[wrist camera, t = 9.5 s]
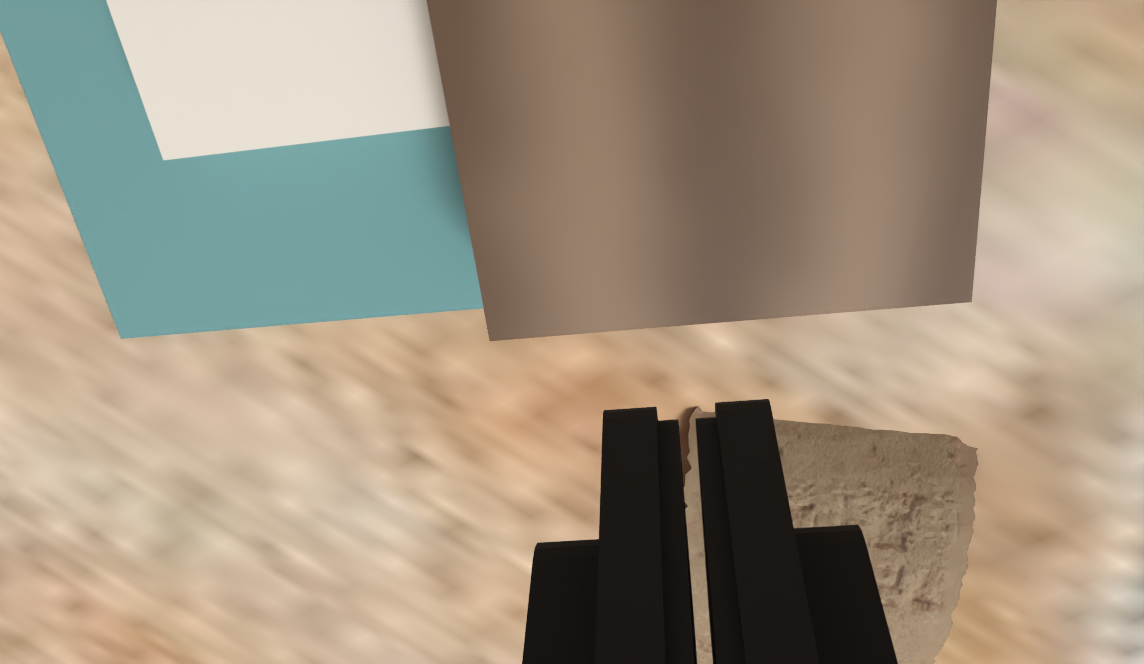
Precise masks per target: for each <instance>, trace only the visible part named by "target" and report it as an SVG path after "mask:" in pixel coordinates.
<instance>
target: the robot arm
mask: <svg viewBox="0 0 1144 664" xmlns="http://www.w3.org/2000/svg"><path fill="white" fill-rule="evenodd" d="M715 416H716V417H708V418H695V423H696V437H697V452H698V466H699V480H700V494H701V509H702V523H703V537H704V551H705V566H706V580H707V594H708V608H709V622H710V634H711V646H712V658H713V664H898V662H897V658H896V654H895V650H894V647H893V643H892V639H891V635H890V632H889V628H888V624H887V620H886V617H885V613H884V609H883V605H882V602H881V598H880V594H879V590H878V587H877V583H876V579H875V575H874V572H873V568H872V564H871V560H870V557H869V553H868V549H867V545H866V542H865V539H864V536H863V533H862V530H861V528H860V527H859V525H841V526H824V527H806V528H794V527H793V521H792V516H791V511H790V506H789V500H788V495H787V490H786V484H785V479H784V474H783V469H782V463H781V458H780V453H779V447H778V442H777V437H776V432H775V426H774V421H773V416H772V410H771V406H770V401H769V399H763V400H748V401H734V402H719V403H715ZM522 664H697V652H696V637H695V624H694V611H693V598H692V585H691V573H690V561H689V548H688V536H687V523H686V511H685V498H684V486H683V473H682V461H681V448H680V436H679V424H678V420H663V421H658V417H657V409H656V407H646V408H631V409H617V410H604V412H603V431H602V462H601V494H600V526H599V539H596V540H579V541H561V542H544V543H537V545H536V547H535V550H534V557H533V564H532V574H531V583H530V593H529V603H528V612H527V622H526V632H525V642H524V651H523V661H522Z"/></svg>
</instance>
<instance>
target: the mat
mask: <svg viewBox="0 0 1144 664" xmlns="http://www.w3.org/2000/svg"><path fill="white" fill-rule="evenodd" d="M0 32H1V34H2V37H3V39H4V42H5V45H6V47H7V50H8V52H9V55H10V57H11V60H12V62H13V65H14V67H15V70H16V73H17V75H18V78H19V80H20V83H21V85H22V88H23V90H24V93H25V95H26V98H27V100H28V103H29V106H30V108H31V111H32V113H33V116H34V118H35V121H36V123H37V126H38V128H39V131H40V134H41V136H42V139H43V141H44V144H45V146H46V149H47V151H48V154H49V156H50V159H51V162H52V164H53V167H54V169H55V172H56V174H57V177H58V179H59V182H60V184H61V187H62V190H63V192H64V195H65V197H66V200H67V202H68V205H69V207H70V210H71V212H72V215H73V218H74V220H75V223H76V225H77V228H78V230H79V233H80V235H81V238H82V240H83V243H84V246H85V248H86V251H87V253H88V256H89V258H90V261H91V263H92V266H93V268H94V271H95V274H96V276H97V279H98V281H99V284H100V286H101V289H102V291H103V294H104V296H105V299H106V302H107V304H108V307H109V309H110V312H111V314H112V317H113V319H114V322H115V324H116V327H117V330H118V332H119V335H120V337H121V339H123V338H135V337H147V336H158V335H170V334H182V333H194V332H206V331H218V330H230V329H242V328H254V327H265V326H277V325H289V324H301V323H313V322H325V321H337V320H349V319H361V318H372V317H384V316H396V315H408V314H420V313H432V312H444V311H456V310H468V309H479V308H484V307H483V302H482V297H481V291H480V286H479V280H478V275H477V270H476V264H475V259H474V253H473V248H472V243H471V237H470V232H469V227H468V221H467V216H466V210H465V205H464V200H463V194H462V189H461V183H460V178H459V173H458V167H457V162H456V157H455V151H454V146H453V140H452V135H451V130H450V126H444V127H436V128H427V129H419V130H411V131H403V132H394V133H386V134H378V135H370V136H361V137H353V138H345V139H336V140H328V141H320V142H312V143H303V144H295V145H287V146H279V147H270V148H262V149H254V150H246V151H237V152H229V153H221V154H212V155H204V156H196V157H188V158H179V159H171V160H163V158H162V155H161V152H160V150H159V147H158V144H157V141H156V138H155V136H154V133H153V130H152V127H151V124H150V122H149V119H148V116H147V113H146V110H145V108H144V105H143V102H142V99H141V96H140V94H139V91H138V88H137V85H136V83H135V80H134V77H133V74H132V71H131V69H130V66H129V63H128V60H127V57H126V55H125V52H124V49H123V46H122V43H121V41H120V38H119V35H118V32H117V30H116V27H115V24H114V21H113V18H112V16H111V13H110V10H109V7H108V4H107V2H106V0H0Z"/></svg>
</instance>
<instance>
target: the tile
mask: <svg viewBox="0 0 1144 664" xmlns="http://www.w3.org/2000/svg"><path fill="white" fill-rule="evenodd" d="M106 2H107V4H108V7H109V10H110V13H111V16H112V18H113V21H114V24H115V27H116V30H117V32H118V35H119V38H120V41H121V43H122V46H123V49H124V52H125V55H126V57H127V60H128V63H129V66H130V69H131V71H132V74H133V77H134V80H135V83H136V85H137V88H138V91H139V94H140V96H141V99H142V102H143V105H144V108H145V110H146V113H147V116H148V119H149V122H150V124H151V127H152V130H153V133H154V136H155V138H156V141H157V144H158V147H159V150H160V152H161V155H162V158H163V160H171V159H179V158H188V157H196V156H204V155H212V154H221V153H229V152H237V151H246V150H254V149H262V148H270V147H279V146H287V145H295V144H303V143H312V142H320V141H328V140H336V139H345V138H353V137H361V136H370V135H378V134H386V133H394V132H403V131H411V130H419V129H427V128H436V127H444V126H450V124H449V119H448V113H447V108H446V103H445V97H444V92H443V86H442V81H441V76H440V70H439V65H438V60H437V54H436V49H435V43H434V38H433V33H432V27H431V22H430V16H429V11H428V6H427V0H106Z"/></svg>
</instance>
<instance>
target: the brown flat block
mask: <svg viewBox="0 0 1144 664" xmlns="http://www.w3.org/2000/svg"><path fill="white" fill-rule="evenodd" d="M996 5H997V0H427V6H428V11H429V16H430V22H431V27H432V33H433V38H434V43H435V49H436V54H437V60H438V65H439V70H440V76H441V81H442V86H443V92H444V97H445V103H446V108H447V113H448V119H449V124H450V130H451V135H452V140H453V146H454V151H455V157H456V162H457V167H458V173H459V178H460V183H461V189H462V194H463V200H464V205H465V210H466V216H467V221H468V227H469V232H470V237H471V243H472V248H473V253H474V259H475V264H476V270H477V275H478V280H479V286H480V291H481V297H482V302H483V307H484V313H485V318H486V323H487V329H488V334H489V340H490V341H497V340H509V339H521V338H534V337H546V336H558V335H571V334H583V333H595V332H608V331H620V330H632V329H645V328H657V327H669V326H681V325H694V324H706V323H718V322H731V321H743V320H755V319H768V318H780V317H792V316H805V315H817V314H829V313H842V312H854V311H866V310H878V309H891V308H903V307H915V306H928V305H940V304H952V303H965V302H972V290H973V278H974V266H975V255H976V243H977V231H978V219H979V207H980V195H981V183H982V171H983V159H984V148H985V136H986V124H987V112H988V100H989V88H990V76H991V64H992V52H993V41H994V29H995V17H996Z"/></svg>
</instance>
